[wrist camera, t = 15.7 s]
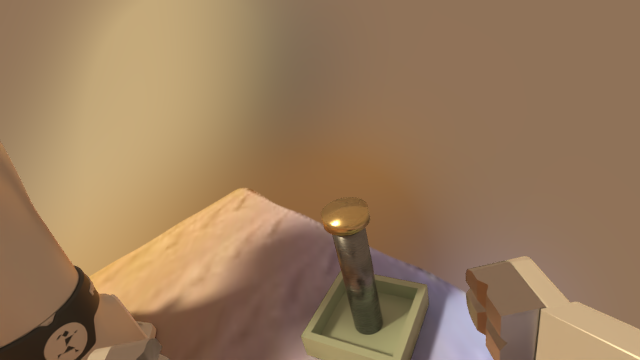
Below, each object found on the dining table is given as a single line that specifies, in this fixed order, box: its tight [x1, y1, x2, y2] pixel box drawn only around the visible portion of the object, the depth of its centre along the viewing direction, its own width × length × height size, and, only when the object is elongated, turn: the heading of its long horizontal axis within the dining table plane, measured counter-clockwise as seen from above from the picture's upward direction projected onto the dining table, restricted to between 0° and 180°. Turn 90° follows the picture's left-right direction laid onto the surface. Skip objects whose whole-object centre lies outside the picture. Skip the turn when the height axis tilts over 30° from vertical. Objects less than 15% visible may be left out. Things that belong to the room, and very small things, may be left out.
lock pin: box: [321, 197, 383, 335], centre depth 39 cm, size 4×4×15 cm
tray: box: [301, 271, 429, 360], centre depth 42 cm, size 11×11×3 cm
